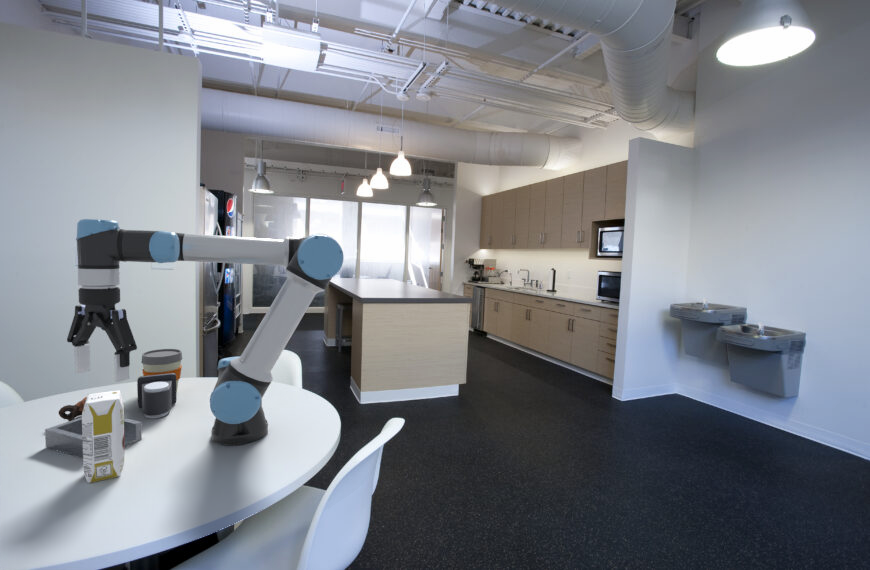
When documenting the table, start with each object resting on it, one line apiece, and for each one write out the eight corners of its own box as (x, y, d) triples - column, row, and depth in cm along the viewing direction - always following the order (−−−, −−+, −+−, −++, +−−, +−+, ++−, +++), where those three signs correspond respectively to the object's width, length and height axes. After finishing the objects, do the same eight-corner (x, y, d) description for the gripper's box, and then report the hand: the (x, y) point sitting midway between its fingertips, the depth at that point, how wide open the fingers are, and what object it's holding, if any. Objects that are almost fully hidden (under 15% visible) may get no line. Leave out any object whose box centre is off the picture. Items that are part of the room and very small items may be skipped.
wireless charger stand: (135, 423, 128) (134, 390, 127) (138, 406, 139) (137, 375, 138) (177, 417, 134) (176, 385, 133) (176, 401, 145) (176, 371, 144)
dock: (141, 439, 117) (141, 422, 117) (90, 460, 105) (90, 441, 105) (98, 428, 123) (98, 411, 122) (45, 447, 111) (45, 429, 110)
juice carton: (82, 486, 94) (80, 405, 93) (86, 469, 101) (84, 393, 100) (124, 477, 99) (122, 399, 97) (125, 461, 106) (123, 388, 104)
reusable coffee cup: (179, 384, 162) (179, 347, 161) (185, 394, 152) (185, 354, 151) (140, 390, 154) (139, 351, 153) (143, 401, 144) (143, 359, 143)
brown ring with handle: (97, 412, 135) (109, 392, 134) (105, 433, 130) (117, 412, 129) (50, 414, 125) (62, 392, 124) (56, 437, 120) (69, 414, 119)
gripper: (154, 289, 96) (155, 379, 98) (82, 282, 104) (84, 365, 106) (120, 292, 89) (122, 388, 91) (45, 284, 97) (49, 373, 99)
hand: (102, 376), depth 98 cm, fingers open, 13 cm apart
